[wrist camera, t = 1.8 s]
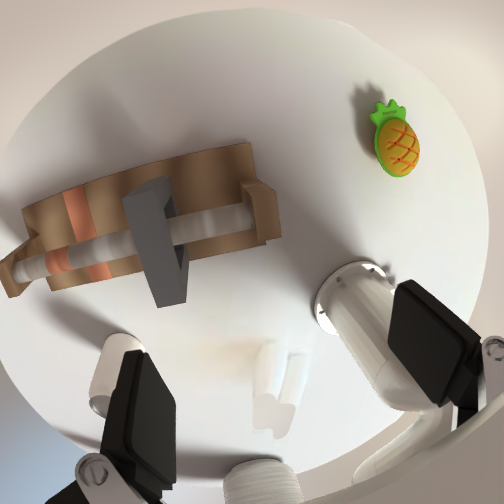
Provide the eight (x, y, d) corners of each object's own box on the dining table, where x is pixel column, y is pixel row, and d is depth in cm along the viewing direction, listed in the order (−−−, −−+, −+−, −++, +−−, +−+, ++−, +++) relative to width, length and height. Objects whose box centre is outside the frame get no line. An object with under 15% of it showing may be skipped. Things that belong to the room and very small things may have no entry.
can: (105, 326, 35) (82, 387, 24) (147, 336, 36) (136, 401, 26) (106, 357, 37) (88, 416, 26) (144, 366, 39) (135, 427, 28)
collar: (169, 174, 26) (153, 190, 17) (189, 257, 29) (186, 302, 21) (146, 180, 25) (121, 198, 17) (168, 261, 29) (157, 308, 21)
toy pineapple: (372, 180, 33) (396, 187, 28) (352, 106, 29) (376, 103, 24) (408, 166, 33) (433, 172, 28) (391, 98, 29) (417, 95, 24)
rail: (248, 142, 29) (268, 142, 20) (264, 241, 34) (286, 277, 25) (25, 207, 26) (-18, 231, 18) (54, 288, 31) (24, 327, 22)
